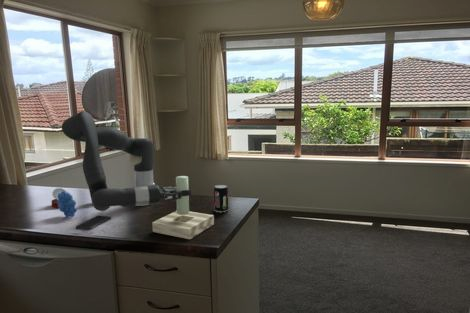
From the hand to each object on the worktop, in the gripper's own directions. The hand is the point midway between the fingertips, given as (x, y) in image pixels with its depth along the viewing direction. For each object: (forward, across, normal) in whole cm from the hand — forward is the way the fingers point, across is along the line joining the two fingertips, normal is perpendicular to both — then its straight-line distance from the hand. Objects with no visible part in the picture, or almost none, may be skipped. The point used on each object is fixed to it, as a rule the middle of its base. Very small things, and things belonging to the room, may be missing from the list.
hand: (188, 190), depth 148 cm
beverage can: (+19, +15, +16) cm, 29 cm away
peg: (-3, 0, +9) cm, 9 cm away
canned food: (-51, +58, +16) cm, 78 cm away
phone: (-37, +22, +16) cm, 46 cm away
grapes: (-48, +36, +16) cm, 62 cm away
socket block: (-2, 0, +16) cm, 16 cm away
